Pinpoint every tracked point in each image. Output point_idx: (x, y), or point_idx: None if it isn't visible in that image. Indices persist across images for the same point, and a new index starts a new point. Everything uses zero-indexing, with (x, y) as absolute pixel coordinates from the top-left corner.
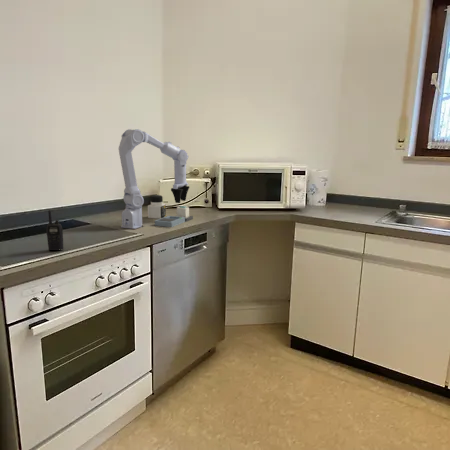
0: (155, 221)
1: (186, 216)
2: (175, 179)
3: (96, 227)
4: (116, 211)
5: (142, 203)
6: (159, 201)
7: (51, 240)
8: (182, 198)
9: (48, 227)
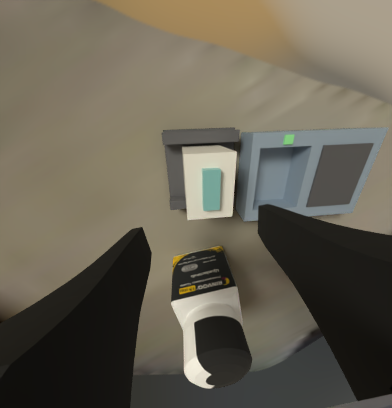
0: (350, 208)
1: (213, 146)
2: None
3: None
4: (174, 368)
5: None
6: (230, 321)
7: None
8: (145, 256)
9: None
